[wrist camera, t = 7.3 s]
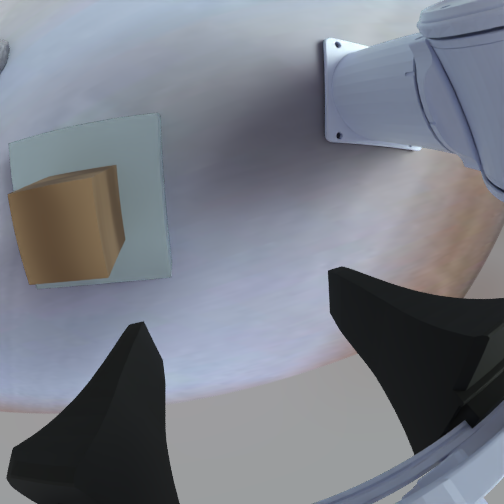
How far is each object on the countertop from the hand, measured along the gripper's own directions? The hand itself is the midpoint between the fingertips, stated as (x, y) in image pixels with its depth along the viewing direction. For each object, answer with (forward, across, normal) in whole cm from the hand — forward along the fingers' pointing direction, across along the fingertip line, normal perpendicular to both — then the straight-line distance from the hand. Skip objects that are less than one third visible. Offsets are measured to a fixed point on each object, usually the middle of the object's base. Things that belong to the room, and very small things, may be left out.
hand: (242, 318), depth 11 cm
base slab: (+11, +7, -4) cm, 14 cm away
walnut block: (+8, +7, -4) cm, 12 cm away
